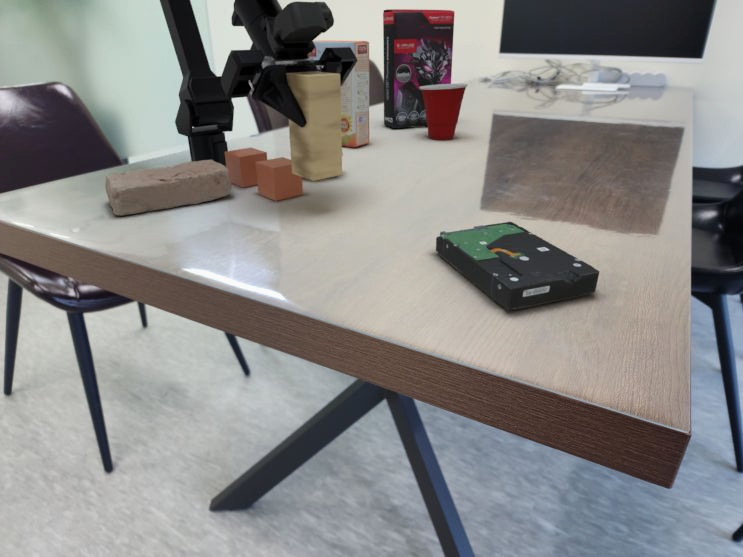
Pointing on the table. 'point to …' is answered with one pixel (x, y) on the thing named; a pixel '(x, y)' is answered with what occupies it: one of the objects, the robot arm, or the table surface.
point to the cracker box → (352, 92)
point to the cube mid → (277, 179)
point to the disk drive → (516, 265)
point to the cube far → (244, 165)
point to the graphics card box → (414, 61)
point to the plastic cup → (442, 108)
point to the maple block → (316, 125)
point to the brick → (167, 186)
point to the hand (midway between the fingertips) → (320, 122)
